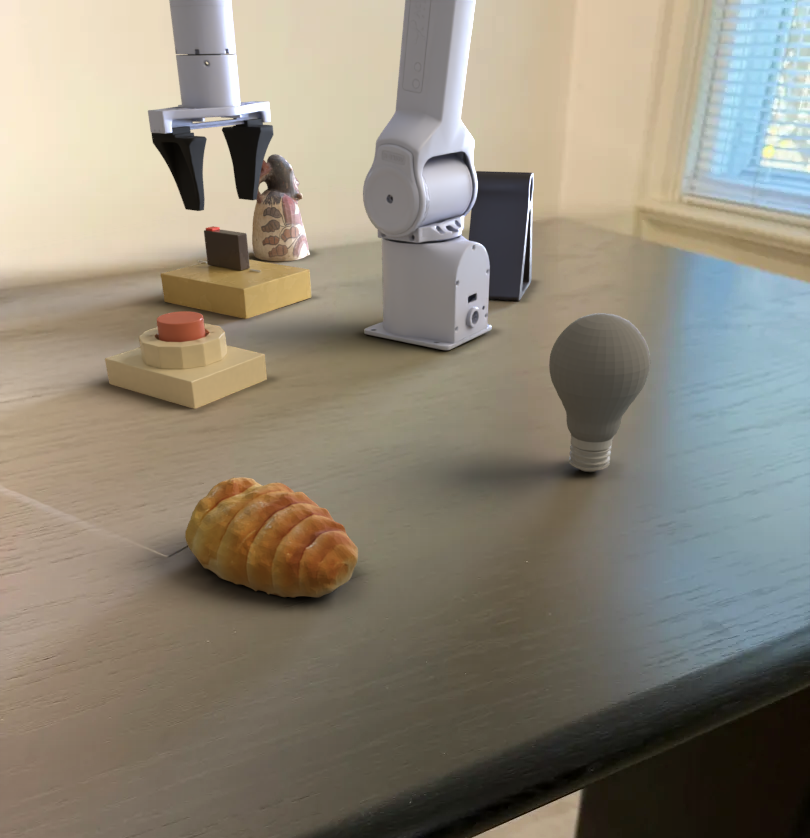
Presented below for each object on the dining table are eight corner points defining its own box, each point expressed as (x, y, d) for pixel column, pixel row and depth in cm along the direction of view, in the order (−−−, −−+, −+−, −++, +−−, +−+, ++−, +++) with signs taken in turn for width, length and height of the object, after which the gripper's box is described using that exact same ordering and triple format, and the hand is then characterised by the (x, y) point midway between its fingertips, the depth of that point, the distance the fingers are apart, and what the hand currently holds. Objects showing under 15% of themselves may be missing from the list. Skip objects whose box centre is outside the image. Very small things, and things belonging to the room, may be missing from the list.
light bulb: (571, 442, 61) (584, 296, 56) (652, 465, 58) (673, 312, 53) (523, 471, 57) (533, 317, 52) (607, 498, 54) (626, 335, 49)
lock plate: (311, 297, 95) (309, 267, 94) (246, 319, 88) (243, 287, 87) (227, 282, 102) (224, 253, 100) (160, 301, 94) (156, 271, 93)
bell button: (215, 337, 71) (212, 315, 70) (181, 348, 68) (178, 326, 67) (184, 330, 73) (181, 308, 72) (150, 341, 70) (146, 319, 69)
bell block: (267, 379, 73) (263, 331, 71) (194, 409, 67) (188, 358, 65) (183, 358, 78) (177, 313, 76) (108, 384, 72) (100, 336, 70)
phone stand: (518, 301, 93) (525, 179, 87) (463, 298, 95) (465, 177, 89) (531, 281, 101) (538, 167, 95) (480, 278, 102) (483, 166, 96)
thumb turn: (250, 268, 94) (246, 230, 92) (240, 270, 93) (237, 232, 91) (216, 262, 97) (212, 225, 95) (207, 265, 96) (202, 227, 94)
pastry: (389, 566, 47) (387, 502, 45) (301, 626, 42) (294, 558, 40) (264, 516, 52) (257, 457, 50) (173, 565, 47) (162, 501, 45)
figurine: (316, 258, 112) (310, 155, 106) (260, 263, 110) (251, 158, 104) (300, 247, 118) (294, 149, 112) (247, 252, 115) (238, 152, 109)
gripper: (230, 53, 92) (243, 191, 99) (118, 56, 82) (141, 211, 89) (281, 53, 89) (290, 197, 95) (170, 56, 78) (190, 217, 85)
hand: (221, 204), depth 92 cm, fingers open, 7 cm apart
